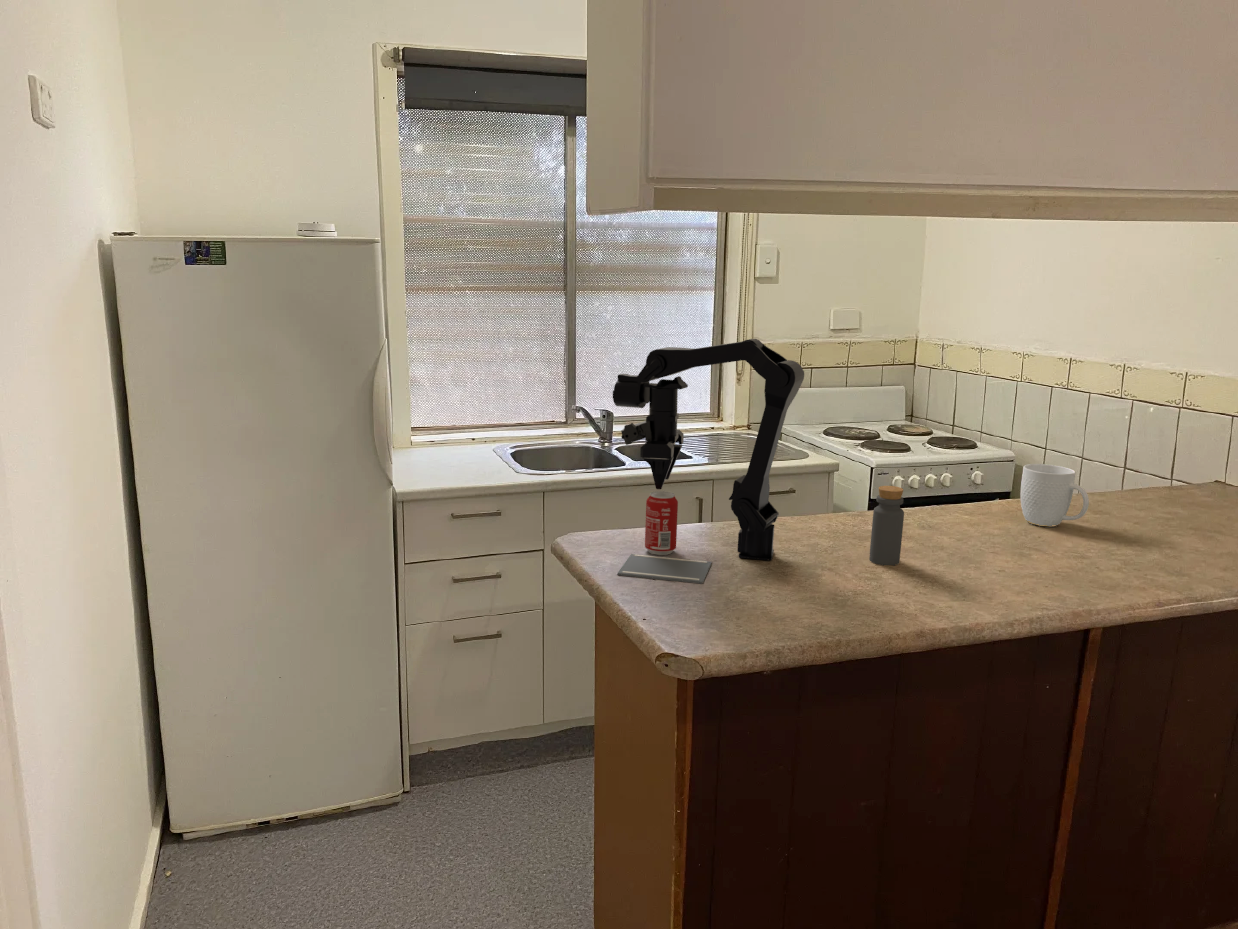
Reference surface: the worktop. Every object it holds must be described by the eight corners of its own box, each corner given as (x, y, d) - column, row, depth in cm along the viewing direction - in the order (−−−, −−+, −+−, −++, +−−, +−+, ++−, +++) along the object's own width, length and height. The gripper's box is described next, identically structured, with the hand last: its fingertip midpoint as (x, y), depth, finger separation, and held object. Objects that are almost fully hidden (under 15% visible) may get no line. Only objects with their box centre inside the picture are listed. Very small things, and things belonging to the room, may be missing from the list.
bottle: (901, 559, 188) (908, 487, 185) (896, 567, 183) (904, 493, 180) (871, 555, 190) (878, 483, 187) (866, 563, 185) (873, 489, 182)
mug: (1093, 528, 215) (1101, 472, 212) (1074, 537, 207) (1082, 479, 204) (1028, 514, 225) (1034, 461, 222) (1008, 522, 217) (1015, 467, 215)
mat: (711, 563, 182) (711, 561, 182) (702, 583, 171) (702, 581, 171) (631, 555, 186) (631, 553, 186) (617, 575, 174) (617, 572, 174)
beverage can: (676, 547, 192) (678, 490, 189) (675, 557, 186) (677, 498, 183) (645, 546, 192) (647, 489, 190) (643, 555, 186) (645, 497, 184)
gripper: (633, 402, 202) (632, 472, 205) (615, 415, 184) (615, 492, 187) (684, 403, 200) (683, 475, 203) (671, 417, 182) (670, 495, 185)
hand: (662, 484), depth 195 cm, fingers open, 9 cm apart
